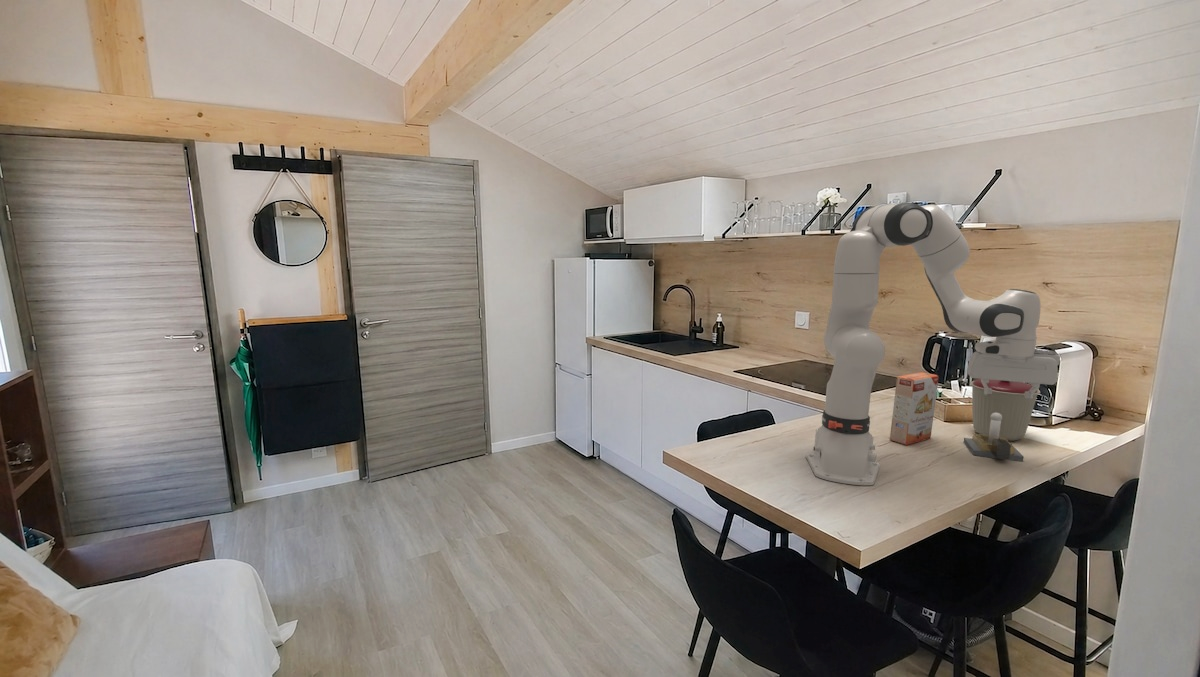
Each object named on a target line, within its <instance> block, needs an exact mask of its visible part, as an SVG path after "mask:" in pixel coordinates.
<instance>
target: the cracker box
mask: <svg viewBox="0 0 1200 677" xmlns="http://www.w3.org/2000/svg"><path fill="white" fill-rule="evenodd" d="M939 379H940V378H939V375H937V374H933V373H927V372H921V371H920V372H917V373H916V372H915V373H909V374H903V375H898V376H896V383H895V389H894V390H895V392H894V401H893V409H892V415H891V417H892V418H891V425H890V435H889V441H892V442H896V443H899V444H901V445H904V446H909V445H912V444H915V443H919V442H922V441H926V440H929V439H931V437H932V429H933V424H934V416H935V415H934V414H935V407H936V400H937V392H938V386H939Z"/></svg>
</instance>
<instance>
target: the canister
mask: <svg viewBox="0 0 1200 677" xmlns="http://www.w3.org/2000/svg"><path fill="white" fill-rule="evenodd" d="M969 384H970V386H972V388H971V389H972V393H971V394H972V395H971V397H972V401H971V402H972V407H971V408H972V426H973V429H974V431H975V432H976V434H982V435H989V431H990V423H991V414H993V413H999V414H1001V415H1002V420H1001V424H1000V432H999V437H1004V438H1005V439H1006V440H1008V441H1009V442H1013V441H1019V440H1021V439H1023V438H1024V437H1025V435H1026V433H1027V431H1028V427H1029V423H1030V421H1031V418H1032V414H1033V410H1034V407H1035V404H1036V400H1037V397H1038V395H1040V394H1041V391H1040V389H1038V390H1037V391H1036V392H1035V393H1033V399H1026V398H1024V395H1025V391H1029V390H1030V389H1031V388H1032V387H1033V386H1031V383H1024V382H1013V381H1001V380H990V379H989V383H986V384H987V386H988V388H991V389H992V392H991V393H992V395H985V394H984V389H985V388H984V386H983V384H982V382H981V379H978V378H976V379H975V380H972V381H970V383H969Z"/></svg>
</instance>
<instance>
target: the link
mask: <svg viewBox="0 0 1200 677" xmlns="http://www.w3.org/2000/svg"><path fill="white" fill-rule="evenodd" d="M988 438H989V435H982V434H979V433H972V438H971V439H972V440H973V441H974V443H975V444H976V445H977V446H978V447H979V449H980V450H982V451H990V452H992V453H993V454H994V456H995V457H996V458H995V459H999V458H1004V459H1003V460H1006V459H1009V456H1010V454H1014V451H1015V448H1016V447H1015V446H1014V445H1013V444H1012V443H1011V441H1008V440H1006V439H1005V438H1004V437H999V439H993V441H992V444H991V443H988Z"/></svg>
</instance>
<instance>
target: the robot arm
mask: <svg viewBox="0 0 1200 677" xmlns="http://www.w3.org/2000/svg"><path fill="white" fill-rule="evenodd" d="M909 245H911V246H912V248H913V250H914V252H915V253H916V254H917V256H918V257H919V259H920V261H921V263H922V264H923V266H924V267H923V268H924V272H925V273H924V274H925V276H926V278H927V280H928V282H929V285H930V286H931V288H932V289H933V290H932V291H933V292H934V294H935V296H936V297H937V299H938V302H939V304H940V306H941V309H942V313H943V319H944V322H945V325H946V326H947V327H948V329H950V330H951V331H953V332H956V333H962V334H964V333H965V334H972V335H976V336H982V337H988V338H989V337H990V338H995V339H992V340H985V341H980V342H977V343H975V345H974V349H975V351H974V352H973V353H972V354H971V355H970V357H969V360H968V364H967V369H966V373H967V375H968V376H969V377H970V378H972V379H981V382H982V384H983V386H984V388H985V389H984V394H985V395H992V393H991V392H992V389H991V388H988V386H987V384H986V383H989V379H990V380H1001V381H1013V382H1024V383H1027V384H1030V385H1031V386H1033V387H1032V388H1031V389H1030V390H1029V391H1025V395H1024V398H1026V399H1033V393H1035V392H1036V391H1037V390H1040V387H1041V385H1049V386H1053V385H1055V384H1056V383H1057V382H1058V377H1059V374H1058V370H1059V368H1058V366H1059V365H1060V362H1061V356H1060V354H1059V353H1058V352H1055V350H1050V349H1049V350H1045V349H1036V344H1037V339H1038V338H1037V333H1036V332H1037V328H1038V326H1039V323H1040V316H1041V298H1040V295H1039V294H1037V293H1036V292H1034V291H1032V290H1025V289H1018V288H1009V289H1006V290H1005V291H1004V293H1001V295H999V296H996V297H994V298H991V299H989V300H980V299H975V298H971V297H969V296H968V295H966V294H965V293H964V291H963V290H962V288H961V286H960V284H959V282H958V279H957V277H956V275H955V273H956V272H957V271H958V270H959V269H961V268H962V267H963V266H964V265H965V264H966V262H967V261H968V260H969V258H970V255H971V254H970V253H971V249H970V245H969V243H968V241H967V239H966V238H965V236H964V235H963V233H962V231H961V230H960V228H959V227H958V225H957V224H956V223H955V222H954V220H953V219H952V218H951V217H950V216H949V215H948V214H947V213H946V212H945V210H944V209H942V208H941V207H940V206H939V205H935V204H923V205H919V204H917V203H913V202H901V203H891V202H890V203H883V204H879V205H877V206H870V207H868V208H866V209H864V210H862V211H861V212H860V213H859V214H858V215H857V216H856V218H855V219H854V221H853V223H852V227H851V228H850V231H849V232H847V233H844V234H843V235H842V236H841V237H840V238H839V240H838V243H837V247H836V252H835V257H834V264H833V275H832V276H833V277H832V296H831V297H832V298H831V306H830V312H829V316H828V320H827V325H826V330H825V332H824V335H823V343H824V346H825V350H826V351H827V353H828V354H829V355H830V356H831V357H832V358H834V360H833V367H832V371H831V375H830V377H829V380H828V381H827V383H826V392H825V402H824V410H823V412H822V415H821V416H822V417H821V424H822V425H821V426H820V427H818V428H817V429H816V430H815V435H814V446H813V451H812V452H807V453H806V456H805V459H807V460H806V461H807V462H808V464H809V467H810V469H811V470H812V472H813V474H814V476H816V478H818V479H819V478H820V479H823V480H826V481H830V482H833V483H841V484H845V485H854V486H873V485H874V484H875V482H876V479H877V476H878V474H879V470H880V467H881V465H880V463H879V462H878V461H877V462H876V460H877V453H874V452H873V451H875V449H876V444H874V440H875V439H874V438H875V437H874V436H873V435H872V434H871V433H870V432H869V431H870V425H871V420H870V419H871V416H870V415H869V412H870V405H871V404H870V403H871V394H872V387H873V384H874V381H875V378H876V375H877V372H878V369H879V366H880V365H881V363H882V362H883V360H884V359H885V356H886V347H885V344H884V342H883V341H882V339H881V338H880V336H879V334H877V333H876V332H874V330H871V329H870V323H871V320H872V317H873V313H874V310H875V308H876V307H877V305H878V299H879V286H880V284H879V283H880V268H881V267H880V262H881V261H880V260H881V255H882V254H883V251H884V249H885V248H888V247H889V248H891V247H898V246H902V247H903V246H909Z"/></svg>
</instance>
